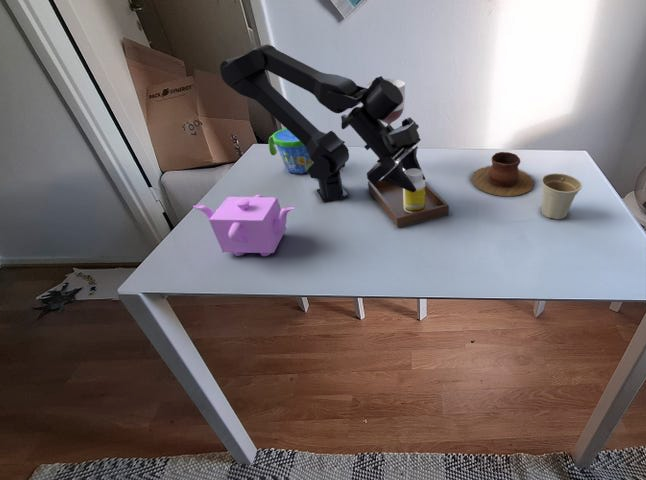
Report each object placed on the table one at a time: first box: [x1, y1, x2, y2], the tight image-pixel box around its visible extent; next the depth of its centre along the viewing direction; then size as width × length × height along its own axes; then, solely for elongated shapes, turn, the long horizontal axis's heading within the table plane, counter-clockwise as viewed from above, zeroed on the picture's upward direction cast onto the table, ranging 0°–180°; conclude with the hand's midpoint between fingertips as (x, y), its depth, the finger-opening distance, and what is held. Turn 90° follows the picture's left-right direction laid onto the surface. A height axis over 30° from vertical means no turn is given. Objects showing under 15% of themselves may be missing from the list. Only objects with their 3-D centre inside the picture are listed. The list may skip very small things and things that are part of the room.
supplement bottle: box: [403, 168, 426, 213], centre depth 93 cm, size 5×5×10 cm
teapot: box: [192, 194, 296, 257], centre depth 81 cm, size 15×13×11 cm
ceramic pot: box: [470, 151, 535, 197], centre depth 108 cm, size 18×18×7 cm
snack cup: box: [268, 128, 314, 175], centre depth 109 cm, size 16×10×10 cm
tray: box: [367, 178, 450, 229], centre depth 99 cm, size 20×14×3 cm
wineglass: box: [367, 78, 406, 172], centre depth 107 cm, size 9×10×23 cm
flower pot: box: [541, 172, 583, 220], centre depth 95 cm, size 9×9×9 cm
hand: (419, 185), depth 92 cm, fingers closed on supplement bottle, 5 cm apart
